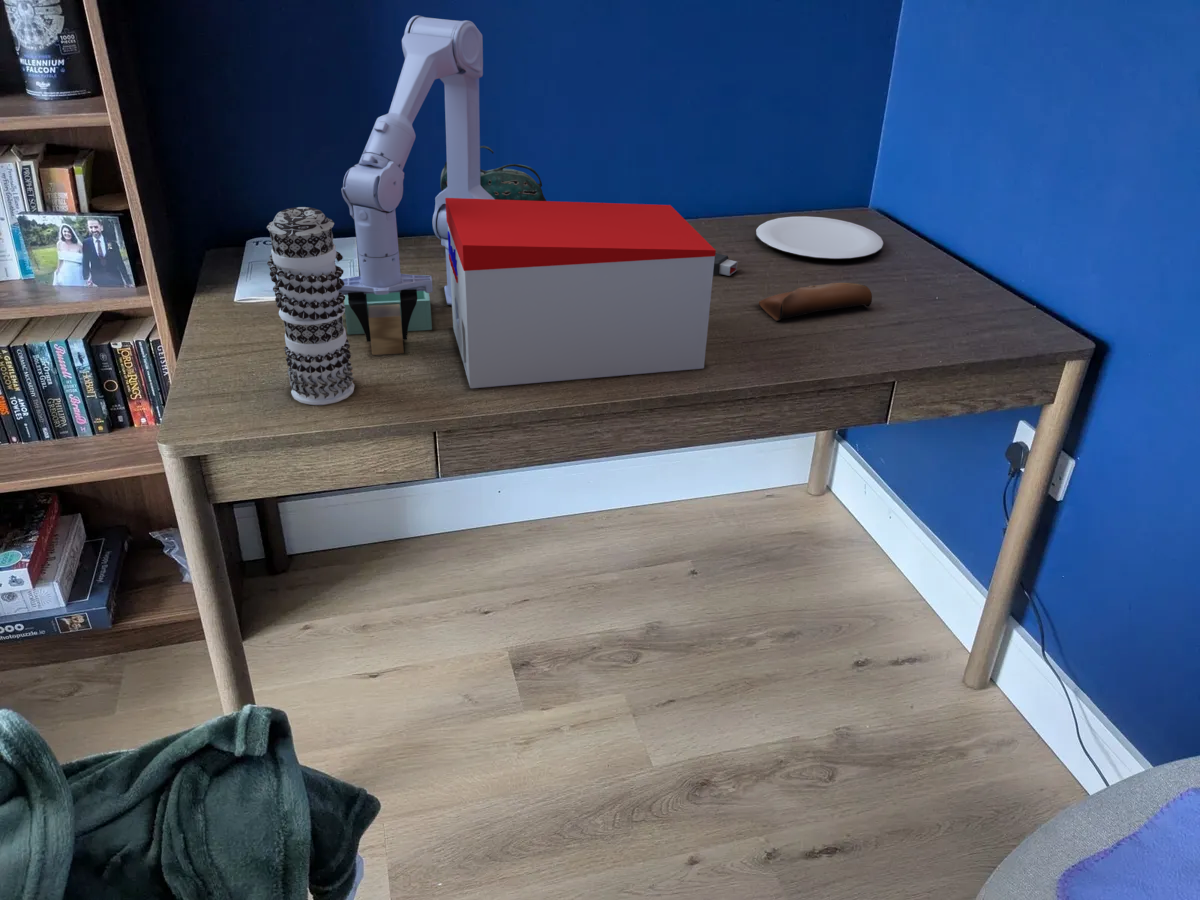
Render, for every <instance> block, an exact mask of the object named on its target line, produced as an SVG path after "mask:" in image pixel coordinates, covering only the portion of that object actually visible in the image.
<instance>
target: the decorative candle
mask: <svg viewBox="0 0 1200 900" xmlns="http://www.w3.org/2000/svg"><path fill="white" fill-rule="evenodd" d="M334 225H335V221H333V220H332V219H331V218H329V217H327V216H326V215H325V214H324V212H323V211H322V210H320V209H318V208H315V207H308V206H307V207H306V206H298V207H290V208H286V209H283V210H281V211H278V212H277V213H276V215H275V216H274V218H273V221H271V222H269V223H268V224H267V226H266V229H267V230H268V231H269V237H270V242H271V250H270V252H271V253H270V255H269V256H268V258H269V259H268V260H267V266H268V267H269V271H270V272H269V276H270V280H271V282H272V283H274V286H273V287H272V291H273V292H274V296H275V298H274V301H275V302H276V303H275V305H276V307H277V308H279V311H278V316H279V317H280V319H281V320H282V321H283V326H284V331H285V332H284V342H285V345H284V347H283V350H284V354H285V356H286V358H285V361H286V365H287V366H288V368H287V375H288V378H289V380H288V381H289V382H288V383H289V386H290V389H291V391H290V392H291V393H290V394H291V396H292V398H293V399H294V400H295V401H297V402H299V403H301V404H304V405H305V404H306V405H311V406H323V405H324V406H325V405H330V404H335V403H338V402H341V401H344V400H346V399H347V398H349V397H350V396H351V395H352V394H353V393H354V389H355V384H354V382H353V381H354V379H355V377H354V376H353V372H352V371H353V369H354V368H353V366H352V362H351V361H350V359H351V358H352V354H351V351H350V350H349V349H350V347H351V345H350V341H349V339H347V329H346V328H345V327H344V318H343V315H344V314H345V306H344V300H345V295H343V294H342V293H341V292H339V291H338V290H339V289H341V288H342V287H343V286H344V282H343V280H342V279H343V278H341V277H342V276H343V274H344V271H345V270H344V269H342V268H341V266H338V265H337V264H336V262H337V263H339V262H340V261H342V260H343V259H344V256H343V254H342V253H341V252H339V251H337V247H336V246H337V245H335V243H334V234H333V231H332V228H333V227H334Z"/></svg>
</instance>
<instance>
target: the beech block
mask: <svg viewBox="0 0 1200 900" xmlns="http://www.w3.org/2000/svg"><path fill="white" fill-rule="evenodd" d="M368 313H369V327H370V337H371V342H370V345H371V346H370V347H371V354H372V356H380V355H382V356H383V355H398V354H404V353H405V349H404V340H403V337H402V325H401V313H400V304H394V305H374V306H368Z"/></svg>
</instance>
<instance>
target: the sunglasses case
mask: <svg viewBox="0 0 1200 900" xmlns="http://www.w3.org/2000/svg"><path fill="white" fill-rule="evenodd" d="M872 302H873V294H872V291H871V289H870V288H869V287H868V286H867V285H864V284H861V283H860V284H859V283H853V282H830V283H825V284H816V285H807V286H803V287H802V286H800V287H797V288H796V289H794V290H792V291H787V292H782V293H777V294H774V295H771V296H767V297H766V298H763V299H761V300H759V301H758V306H759V307H760V308H761V309H762V310H763V311H764V312H765V313H766V314H767V315H768V316H770V318H772V319H773V320H775V321H776V322H777V321H780V320H781V319H790V318H795V317H798V316H804V315H806V314H811V313H815V312H822V311H829V310H830V311H832V310H835V309H836V310H837V309H845V308H851V307H858V306H865V307H866V308H867V307H868V308H869V307H870V306H872Z"/></svg>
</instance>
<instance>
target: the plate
mask: <svg viewBox="0 0 1200 900" xmlns="http://www.w3.org/2000/svg"><path fill="white" fill-rule="evenodd" d="M755 234H756V237H757V238H758V239H759V241H760V242H761V243H763V244H765V246H768V247H769V248H771V249H774V250H776V251H779V252H781V253H785V254H789V255H792V256H796V257H801V258H802V257H803V258H808V259H816V260H831V261H838V260H839V261H840V260H841V261H842V260H853V259H861V258H865V257H869V256H872V255H874V254H876V253H878V252H879V251H881V250H882V249H883V246H884V241H883V238H882V237H881V236H880V235H879V234H877V233H876V232H875V231H873V230H871V229H869V228H867V227H865V226H863V225H860V224H857V223H854V222H850V221H846V220H841V219H837V218H830V217H822V216H808V215H807V216H806V215H803V216H802V215H800V216H798V215H797V216H786V217H784V216H783V217H777V218H774V219H770V220H767V221H765V222H763V223H761V224H760V225H758V227H757V228H756V230H755Z"/></svg>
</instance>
